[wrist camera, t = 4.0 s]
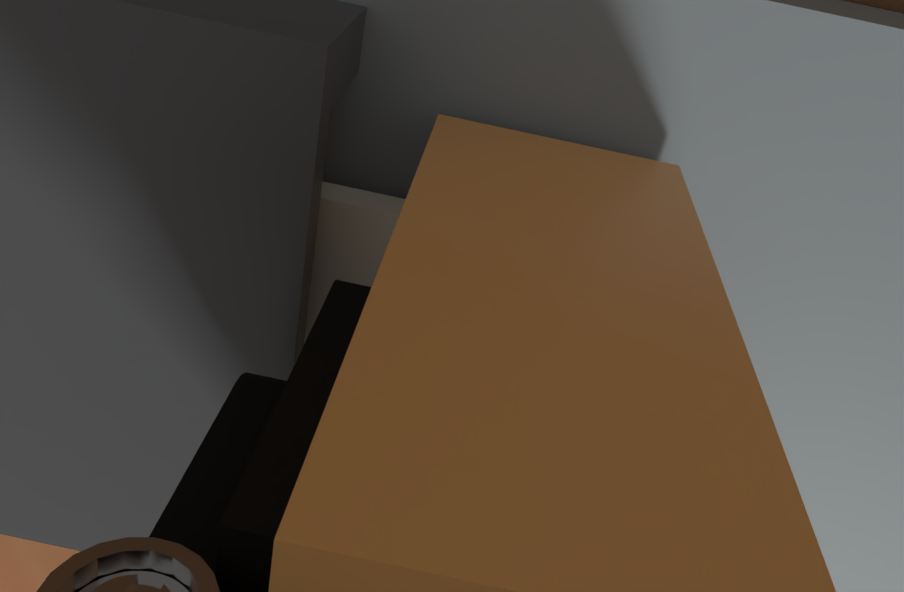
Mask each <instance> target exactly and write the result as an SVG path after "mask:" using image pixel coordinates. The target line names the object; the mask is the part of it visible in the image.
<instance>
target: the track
mask: <svg viewBox="0 0 904 592" xmlns="http://www.w3.org/2000/svg"><path fill="white" fill-rule="evenodd" d="M337 1H342V2H346V3H351V4H356V5H360V6H365V7H367V10H366V17H365V25H364V33H363V41H362V49H361V56H360V64H359V72H358V74H357V75H356V77H355V78H354V79H353V80H352V82H351V83H350V84H349V86H348V87H347V88H346V90H345V91H344V92H343V93H342V95H341V96H340V97H339V99H338V100H337V101H336V103H335V104H334V105H333V106H332V108H331V111H330V120H329V128H328V137H327V146H326V154H325V163H324V172H323V182H328V183H333V184H337V185H342V186H347V187H351V188H356V189H361V190H365V191H370V192H375V193H379V194H384V195H389V196H393V197H398V198H403V199H406V197H407V194H408V192H409V189H410V187H411V184H412V181H413V179H414V176H415V174H416V171H417V168H418V166H419V163H420V161H421V158H422V156H423V153H424V150H425V148H426V145H427V143H428V140H429V137H430V135H431V132H432V130H433V127H434V124H435V122H436V119H437V117H438V114H441V115H446V116H451V117H455V118H460V119H465V120H469V121H474V122H479V123H483V124H488V125H493V126H497V127H502V128H507V129H511V130H516V131H521V132H525V133H530V134H535V135H539V136H544V137H549V138H553V139H558V140H563V141H567V142H572V143H577V144H581V145H586V146H591V147H595V148H600V149H605V150H609V151H614V152H619V153H623V154H628V155H633V156H637V157H642V158H647V159H651V160H656V161H661V162H665V163H670V164H675V165H679V166H680V169H681V172H682V175H683V177H684V180H685V183H686V185H687V188H688V191H689V194H690V196H691V199H692V202H693V204H694V207H695V210H696V213H697V215H698V218H699V221H700V223H701V226H702V229H703V232H704V234H705V237H706V240H707V242H708V245H709V248H710V251H711V253H712V256H713V259H714V261H715V264H716V267H717V270H718V272H719V275H720V278H721V280H722V283H723V286H724V289H725V291H726V294H727V297H728V299H729V302H730V305H731V308H732V310H733V313H734V316H735V318H736V321H737V324H738V327H739V329H740V332H741V335H742V337H743V340H744V343H745V346H746V348H747V351H748V354H749V356H750V359H751V362H752V365H753V367H754V370H755V373H756V375H757V378H758V381H759V384H760V386H761V389H762V392H763V395H764V397H765V400H766V403H767V405H768V408H769V411H770V414H771V416H772V419H773V422H774V424H775V427H776V430H777V433H778V435H779V438H780V441H781V443H782V446H783V449H784V452H785V454H786V457H787V460H788V462H789V465H790V468H791V471H792V473H793V476H794V479H795V481H796V484H797V487H798V490H799V492H800V495H801V498H802V500H803V503H804V506H805V509H806V511H807V514H808V517H809V519H810V522H811V525H812V528H813V530H814V533H815V536H816V538H817V541H818V544H819V547H820V549H821V552H822V555H823V557H824V560H825V563H826V566H827V568H828V571H829V574H830V576H831V579H832V582H833V585H834V587H835V590H836V592H904V13H899V12H894V11H890V10H885V9H880V8H876V7H871V6H866V5H862V4H857V3H852V2H848V1H843V0H337Z"/></svg>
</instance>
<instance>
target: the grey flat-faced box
mask: <svg viewBox="0 0 904 592" xmlns="http://www.w3.org/2000/svg"><path fill="white" fill-rule="evenodd" d="M366 10H367V7H365V6H360V5H356V4H351V3H346V2H342V1H337V0H0V534H3V535H8V536H13V537H17V538H22V539H27V540H32V541H36V542H41V543H46V544H50V545H55V546H60V547H64V548H69V549H74V550H78V551H83V550H85V549H88V548H90V547H92V546H94V545H96V544H99V543H102V542H107V541H112V540H116V539H121V538H126V537H149V536H150V534H151V532H152V530H153V529H154V527H155V525H156V523H157V522H158V520H159V518H160V516H161V514H162V513H163V511H164V509H165V507H166V506H167V504H168V502H169V500H170V498H171V497H172V495H173V493H174V491H175V490H176V488H177V486H178V484H179V482H180V481H181V479H182V477H183V475H184V473H185V472H186V470H187V468H188V466H189V465H190V463H191V461H192V459H193V457H194V456H195V454H196V452H197V450H198V449H199V447H200V445H201V443H202V441H203V440H204V438H205V436H206V434H207V432H208V431H209V429H210V427H211V425H212V424H213V422H214V420H215V418H216V416H217V415H218V413H219V411H220V409H221V408H222V406H223V404H224V402H225V400H226V399H227V397H228V395H229V393H230V392H231V390H232V388H233V386H234V384H235V383H236V381H237V380H238V378H239V377H240V375H241V374H243V373H245V372H247V373H252V374H257V375H261V376H266V377H271V378H276V379H280V380H285V381H287V380H288V378H289V376H290V373H291V371H292V369H293V367H294V365H295V363H296V361H297V359H298V356H299V354H300V352H301V350H302V348H303V346H304V338H305V329H306V320H307V312H308V303H309V294H310V285H311V277H312V268H313V259H314V251H315V242H316V233H317V224H318V216H319V207H320V198H321V189H322V181H323V172H324V163H325V154H326V146H327V137H328V128H329V120H330V111H331V108H332V106H333V105H334V104H335V103H336V101H337V100H338V99H339V97H340V96H341V95H342V93H343V92H344V91H345V90H346V88H347V87H348V86H349V84H350V83H351V82H352V80H353V79H354V78H355V77H356V75H357V74H358V72H359V64H360V56H361V49H362V41H363V33H364V25H365V17H366Z"/></svg>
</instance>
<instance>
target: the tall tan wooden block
mask: <svg viewBox="0 0 904 592" xmlns="http://www.w3.org/2000/svg"><path fill="white" fill-rule="evenodd" d="M335 280H340V281H345V282H350V283H354V284H359V285H364V286H369V287H371V290H370V293H369V295H368V298H367V300H366V303H365V306H364V308H363V311H362V313H361V316H360V319H359V321H358V324H357V326H356V329H355V331H354V334H353V337H352V339H351V342H350V344H349V347H348V350H347V352H346V355H345V357H344V360H343V363H342V365H341V368H340V370H339V373H338V375H337V378H336V381H335V383H334V386H333V388H332V391H331V394H330V396H329V399H328V401H327V404H326V406H325V409H324V412H323V414H322V417H321V419H320V422H319V425H318V427H317V430H316V432H315V435H314V438H313V440H312V443H311V445H310V448H309V450H308V453H307V456H306V458H305V461H304V463H303V466H302V469H301V471H300V474H299V476H298V479H297V482H296V484H295V487H294V489H293V492H292V494H291V497H290V500H289V502H288V505H287V507H286V510H285V513H284V515H283V518H282V520H281V523H280V526H279V528H278V531H277V533H276V536H275V538H274V545H273V554H272V563H271V573H270V582H269V591H268V592H836V590H835V587H834V585H833V582H832V579H831V576H830V574H829V571H828V568H827V566H826V563H825V560H824V557H823V555H822V552H821V549H820V547H819V544H818V541H817V538H816V536H815V533H814V530H813V528H812V525H811V522H810V519H809V517H808V514H807V511H806V509H805V506H804V503H803V500H802V498H801V495H800V492H799V490H798V487H797V484H796V481H795V479H794V476H793V473H792V471H791V468H790V465H789V462H788V460H787V457H786V454H785V452H784V449H783V446H782V443H781V441H780V438H779V435H778V433H777V430H776V427H775V424H774V422H773V419H772V416H771V414H770V411H769V408H768V405H767V403H766V400H765V397H764V395H763V392H762V389H761V386H760V384H759V381H758V378H757V375H756V373H755V370H754V367H753V365H752V362H751V359H750V356H749V354H748V351H747V348H746V346H745V343H744V340H743V337H742V335H741V332H740V329H739V327H738V324H737V321H736V318H735V316H734V313H733V310H732V308H731V305H730V302H729V299H728V297H727V294H726V291H725V289H724V286H723V283H722V280H721V278H720V275H719V272H718V270H717V267H716V264H715V261H714V259H713V256H712V253H711V251H710V248H709V245H708V242H707V240H706V237H705V234H704V232H703V229H702V226H701V223H700V221H699V218H698V215H697V213H696V210H695V207H694V204H693V202H692V199H691V196H690V194H689V191H688V188H687V185H686V183H685V180H684V177H683V175H682V172H681V169H680V166H679V165H675V164H670V163H665V162H661V161H656V160H651V159H647V158H642V157H637V156H633V155H628V154H623V153H619V152H614V151H609V150H605V149H600V148H595V147H591V146H586V145H581V144H577V143H572V142H567V141H563V140H558V139H553V138H549V137H544V136H539V135H535V134H530V133H525V132H521V131H516V130H511V129H507V128H502V127H497V126H493V125H488V124H483V123H479V122H474V121H469V120H465V119H460V118H455V117H451V116H446V115H441V114H438V117H437V119H436V122H435V124H434V127H433V130H432V132H431V135H430V137H429V140H428V143H427V145H426V148H425V150H424V153H423V156H422V158H421V161H420V163H419V166H418V168H417V171H416V174H415V176H414V179H413V181H412V184H411V187H410V189H409V192H408V194H407V197H406V199H403V198H398V197H393V196H389V195H384V194H379V193H375V192H370V191H365V190H361V189H356V188H351V187H347V186H342V185H337V184H333V183H328V182H323V181H322V189H321V198H320V207H319V216H318V224H317V233H316V242H315V251H314V259H313V268H312V277H311V285H310V294H309V303H308V312H307V320H306V329H305V338H304V344H305V342H306V340H307V337H308V335H309V333H310V331H311V329H312V327H313V325H314V323H315V320H316V318H317V316H318V314H319V312H320V310H321V308H322V306H323V303H324V301H325V299H326V297H327V295H328V293H329V291H330V289H331V286H332V284H333V283H334V281H335Z"/></svg>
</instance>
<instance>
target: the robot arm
mask: <svg viewBox="0 0 904 592" xmlns="http://www.w3.org/2000/svg"><path fill="white" fill-rule="evenodd" d="M370 290H371V287H369V286H364V285H359V284H354V283H350V282H345V281H340V280H335V281H334V283H333V284H332V286H331V289H330V291H329V293H328V295H327V297H326V299H325V301H324V303H323V306H322V308H321V310H320V312H319V314H318V316H317V318H316V320H315V323H314V325H313V327H312V329H311V331H310V333H309V335H308V337H307V340H306V342H305V344H304V346H303V348H302V350H301V352H300V354H299V356H298V359H297V361H296V363H295V365H294V367H293V369H292V371H291V373H290V376H289V378H288V380H287V381H285V380H280V379H276V378H271V377H266V376H261V375H257V374H252V373H247V372H245V373H243V374H241V375H240V377H239V378H238V380H237V381H236V383H235V384H234V386H233V388H232V390H231V392H230V393H229V395H228V397H227V399H226V400H225V402H224V404H223V406H222V408H221V409H220V411H219V413H218V415H217V416H216V418H215V420H214V422H213V424H212V425H211V427H210V429H209V431H208V432H207V434H206V436H205V438H204V440H203V441H202V443H201V445H200V447H199V449H198V450H197V452H196V454H195V456H194V457H193V459H192V461H191V463H190V465H189V466H188V468H187V470H186V472H185V473H184V475H183V477H182V479H181V481H180V482H179V484H178V486H177V488H176V490H175V491H174V493H173V495H172V497H171V498H170V500H169V502H168V504H167V506H166V507H165V509H164V511H163V513H162V514H161V516H160V518H159V520H158V522H157V523H156V525H155V527H154V529H153V530H152V532H151V534H150V536H149V537H126V538H121V539H116V540H112V541H107V542H102V543H99V544H96V545H94V546H92V547H90V548H88V549H85V550H83V551H81V552H79V553H77V554H75V555H73V556H71V557H70V558H69V559H68V560H66V561H65V562H64V563H62V564H61V565H60V566H59V567H57V568H56V569H55V570H53V571H52V572H51V573H50V574H49V575H48V577H47V578H46V580H45V581H44V582H43V584H42V585H41V586H40V588H39V589H38V590H37V592H268V591H269V582H270V573H271V563H272V554H273V545H274V538H275V536H276V533H277V531H278V528H279V526H280V523H281V520H282V518H283V515H284V513H285V510H286V507H287V505H288V502H289V500H290V497H291V494H292V492H293V489H294V487H295V484H296V482H297V479H298V476H299V474H300V471H301V469H302V466H303V463H304V461H305V458H306V456H307V453H308V450H309V448H310V445H311V443H312V440H313V438H314V435H315V432H316V430H317V427H318V425H319V422H320V419H321V417H322V414H323V412H324V409H325V406H326V404H327V401H328V399H329V396H330V394H331V391H332V388H333V386H334V383H335V381H336V378H337V375H338V373H339V370H340V368H341V365H342V363H343V360H344V357H345V355H346V352H347V350H348V347H349V344H350V342H351V339H352V337H353V334H354V331H355V329H356V326H357V324H358V321H359V319H360V316H361V313H362V311H363V308H364V306H365V303H366V300H367V298H368V295H369V293H370Z"/></svg>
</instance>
